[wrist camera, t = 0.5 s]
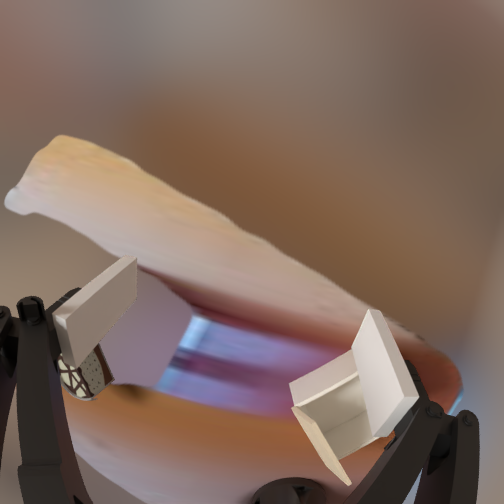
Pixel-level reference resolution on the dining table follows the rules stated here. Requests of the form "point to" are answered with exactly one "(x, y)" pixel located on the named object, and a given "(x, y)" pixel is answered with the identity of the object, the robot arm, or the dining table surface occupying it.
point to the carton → (335, 404)
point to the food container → (86, 375)
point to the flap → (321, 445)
